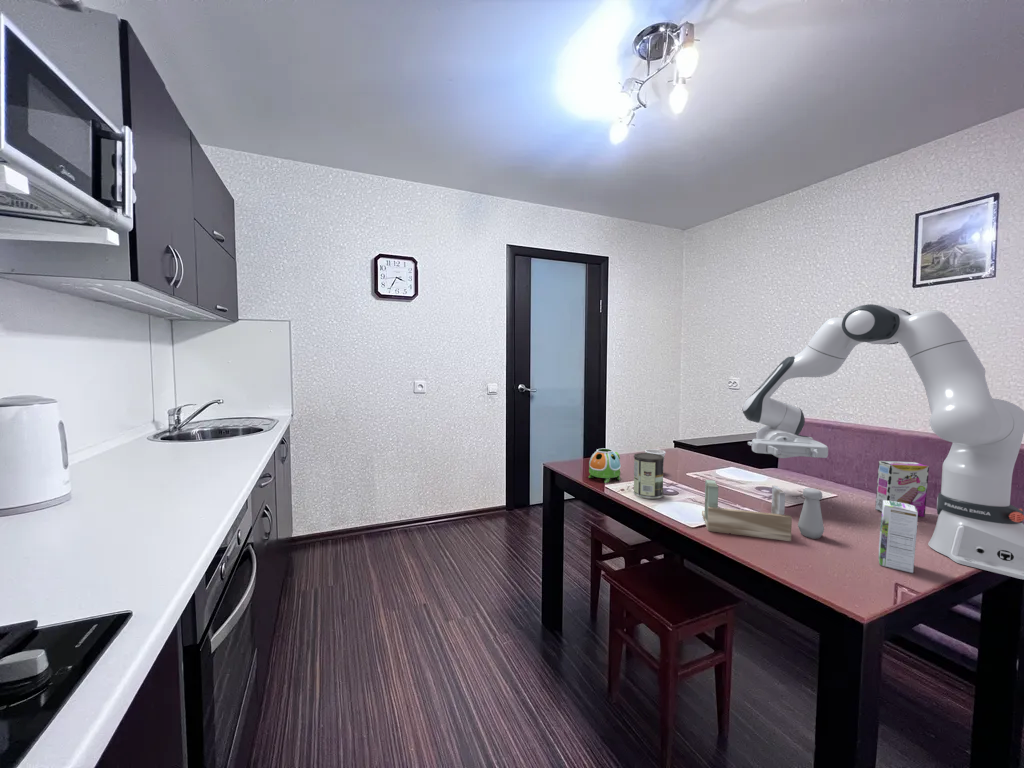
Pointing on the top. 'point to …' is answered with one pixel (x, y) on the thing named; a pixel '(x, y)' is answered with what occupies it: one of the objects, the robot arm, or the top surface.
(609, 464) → the turtle holder
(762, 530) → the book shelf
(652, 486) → the coffee can
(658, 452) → the dixie cup
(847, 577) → the top surface
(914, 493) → the candy bar box
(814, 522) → the salt shaker
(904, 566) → the syrup box
